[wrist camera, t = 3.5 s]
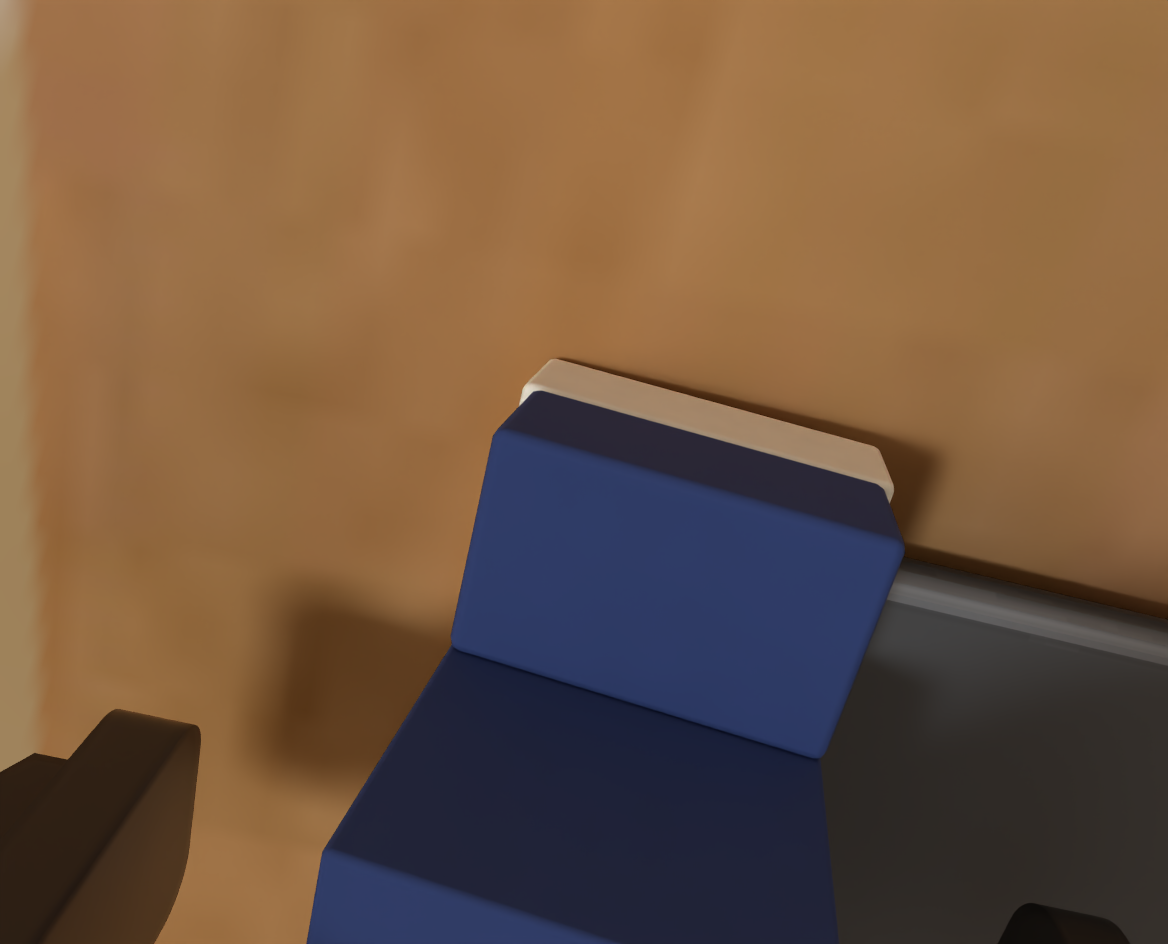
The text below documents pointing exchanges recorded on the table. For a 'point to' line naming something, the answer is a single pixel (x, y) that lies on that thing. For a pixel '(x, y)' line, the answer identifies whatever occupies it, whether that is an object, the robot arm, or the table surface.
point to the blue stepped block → (629, 686)
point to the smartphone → (999, 764)
